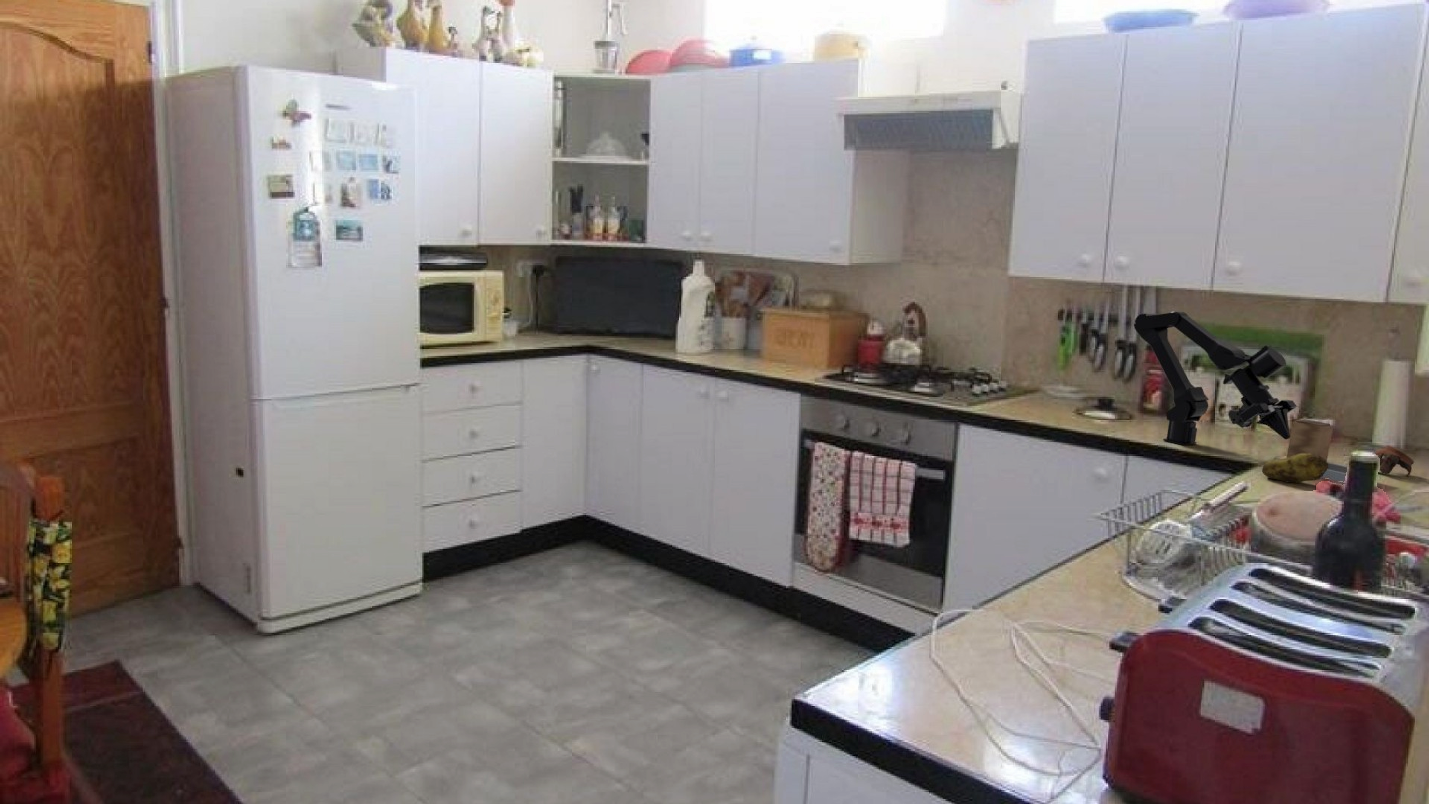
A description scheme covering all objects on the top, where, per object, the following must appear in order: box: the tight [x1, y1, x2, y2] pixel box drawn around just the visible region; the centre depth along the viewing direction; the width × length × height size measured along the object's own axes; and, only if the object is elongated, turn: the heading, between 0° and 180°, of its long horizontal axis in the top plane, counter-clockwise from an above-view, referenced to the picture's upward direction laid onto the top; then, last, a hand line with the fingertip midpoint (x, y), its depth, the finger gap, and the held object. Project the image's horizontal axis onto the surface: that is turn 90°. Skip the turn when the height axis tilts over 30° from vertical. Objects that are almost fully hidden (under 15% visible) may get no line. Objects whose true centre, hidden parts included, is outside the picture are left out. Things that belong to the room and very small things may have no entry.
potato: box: [1261, 453, 1328, 483], centre depth 244 cm, size 8×13×8 cm, turn 32°
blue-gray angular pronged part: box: [1273, 457, 1348, 482], centre depth 256 cm, size 18×11×7 cm, turn 36°
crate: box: [1286, 418, 1334, 462], centre depth 258 cm, size 7×6×12 cm
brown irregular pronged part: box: [1373, 445, 1415, 478], centre depth 261 cm, size 12×10×8 cm
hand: (1288, 438), depth 262 cm, fingers closed
